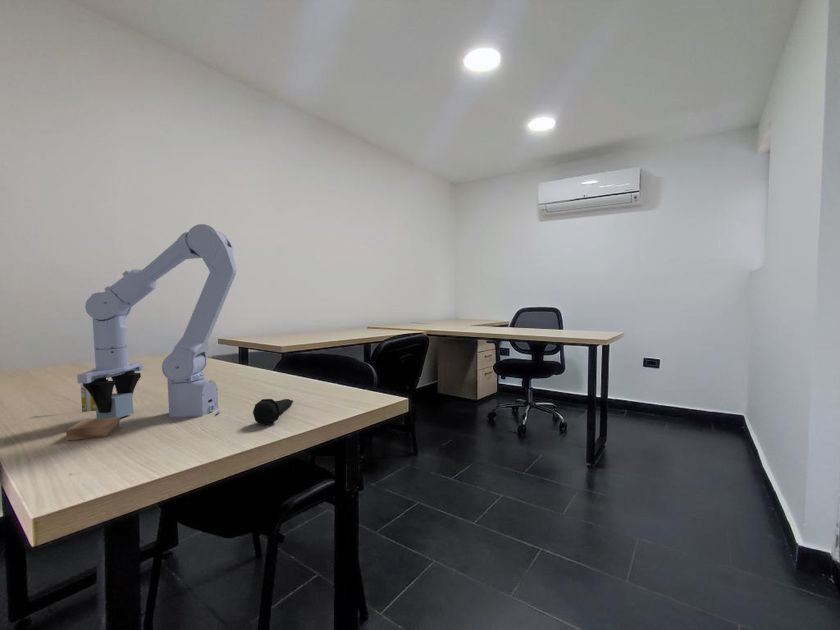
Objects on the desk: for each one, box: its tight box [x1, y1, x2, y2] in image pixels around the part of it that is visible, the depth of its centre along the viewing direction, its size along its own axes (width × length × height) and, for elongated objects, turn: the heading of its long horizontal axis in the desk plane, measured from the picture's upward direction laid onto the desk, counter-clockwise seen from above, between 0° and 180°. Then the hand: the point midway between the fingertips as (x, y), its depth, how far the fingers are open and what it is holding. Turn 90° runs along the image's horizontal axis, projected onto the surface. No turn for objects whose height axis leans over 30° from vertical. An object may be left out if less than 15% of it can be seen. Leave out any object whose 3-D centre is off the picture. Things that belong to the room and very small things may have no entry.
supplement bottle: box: [80, 383, 96, 413], centre depth 95 cm, size 5×5×10 cm
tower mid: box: [65, 417, 120, 441], centre depth 74 cm, size 6×6×2 cm
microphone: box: [252, 398, 294, 425], centre depth 90 cm, size 6×6×20 cm
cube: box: [95, 392, 134, 419], centre depth 85 cm, size 4×4×4 cm
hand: (115, 409), depth 85 cm, fingers closed on cube, 4 cm apart
